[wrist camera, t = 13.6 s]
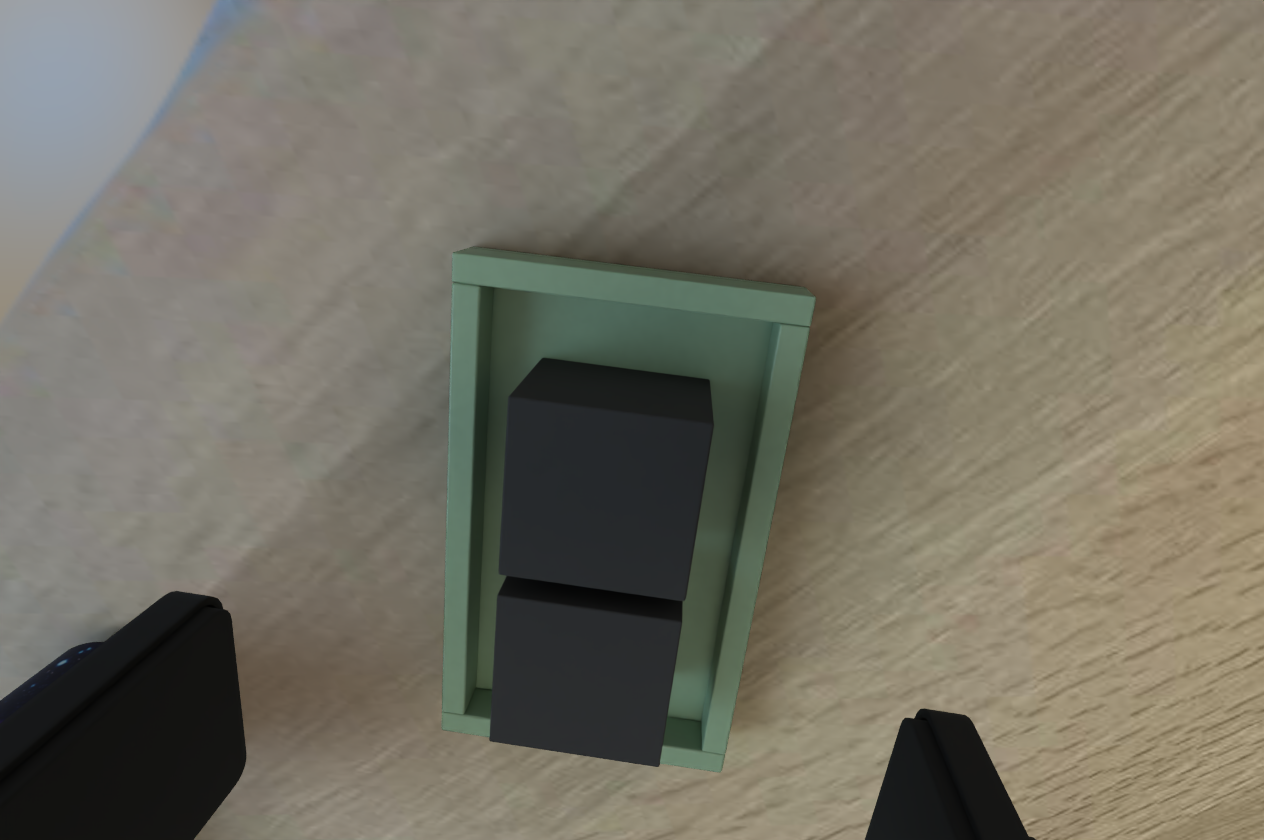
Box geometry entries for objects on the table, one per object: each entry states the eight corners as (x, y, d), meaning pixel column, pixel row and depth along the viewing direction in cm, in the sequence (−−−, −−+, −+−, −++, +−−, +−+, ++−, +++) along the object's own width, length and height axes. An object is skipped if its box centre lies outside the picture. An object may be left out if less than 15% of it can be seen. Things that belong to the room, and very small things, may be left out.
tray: (472, 246, 20) (451, 251, 18) (806, 287, 19) (816, 296, 18) (457, 693, 25) (440, 730, 23) (719, 733, 25) (721, 774, 23)
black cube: (541, 356, 20) (507, 395, 17) (710, 378, 20) (714, 423, 16) (531, 508, 22) (497, 575, 18) (686, 530, 22) (685, 602, 18)
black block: (529, 525, 22) (496, 595, 18) (684, 546, 22) (682, 622, 18) (520, 653, 24) (488, 741, 20) (664, 675, 24) (659, 768, 20)
